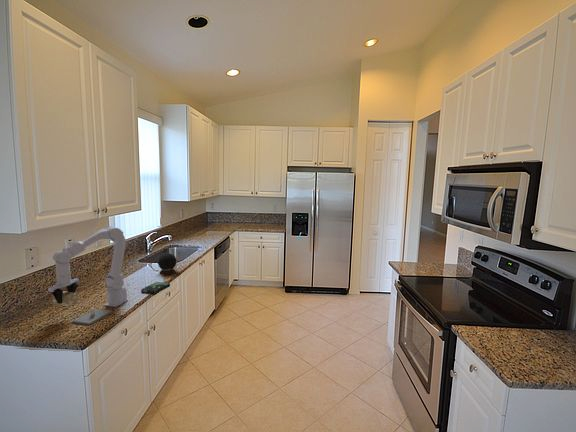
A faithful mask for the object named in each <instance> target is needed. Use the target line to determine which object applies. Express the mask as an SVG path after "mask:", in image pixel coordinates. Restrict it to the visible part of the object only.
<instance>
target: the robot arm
mask: <svg viewBox="0 0 576 432" xmlns="http://www.w3.org/2000/svg"><path fill="white" fill-rule="evenodd" d="M100 240H111V241H112V242H113V244H114V247H113V252H112V253H113V254H112V259H111V266H110V271H109V272H108V274H107V276H106V278H105V280H104V284H105V286H107V287H106V288H107V289H106V291H107V292H106V293H107V303H104V305H103V306H105V307H106V306H107V307H114V308H117V307H119V306H120V305H122V304H124V303H127V302H128V301H129V298H128V295H127V288H126V287H125V286H124V285H125V284H124V283H125V282H124V279H123V278H124V275H123V274H122V269H123V262H124V257H125V252H126V251H125V250H126V244H127V240H126V238H125V235H124V231H123V230H121V229H120V228H119V227H113V226H111V225H109V226H105V227H104V228H101V229H100V230H99V231H97V232H95V233H93V234H92V235H90V236H89V237H88V238H84V239H83V240H82V241H73V242H72V244H70V245H69V246H67V247H63V248H62V250H57V251H55V252H54V254H53V256H52V259H53V261H54V262H55V263H54V264H55V276H56V277H55V278H56V283H55V284H54V285H52V286H50V287H48V288H47V289H48V291H47V292H48V293H51V294H52V295H53V296H54V297H55V299H56V301H57V303H59V304H61V303H62V294H63V291H64V290H62V288H66V291H67V292H76V290H77V288H78V287H79V284H78V283H80V279H79V278H77V277H76V278H72V273H71V265H70V261H71V260H72V258H75V257H76V256H78V255H80V254H81V253H83V252H84V251H86V248H87V247H89V246H90V245H93V244H94V243H97V242H98V241H100Z"/></svg>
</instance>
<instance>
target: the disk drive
mask: <svg viewBox="0 0 576 432" xmlns="http://www.w3.org/2000/svg"><path fill="white" fill-rule="evenodd" d="M170 287H171V283H170V282H161V281H156V282H153V283H151V284H149V285H147V286H145V287H143V288H141V289H140V292H141V293H143V294H150V295H157V294H158V293H160V292H162V291H164V290H166V289H168V288H170Z"/></svg>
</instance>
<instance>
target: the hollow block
mask: <svg viewBox="0 0 576 432" xmlns="http://www.w3.org/2000/svg"><path fill="white" fill-rule="evenodd" d="M51 297H52V305H53V306H59V307H60V306H61V307H67V308H68V307H70V306H73V305H75V304H78V303H79V296H78V292H76V291H75V292H68V290H65V291H64V290H63V294H62V303H61V304H59V303H57V301H56V299H55V297H54V296H53V294H52V295H51Z"/></svg>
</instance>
